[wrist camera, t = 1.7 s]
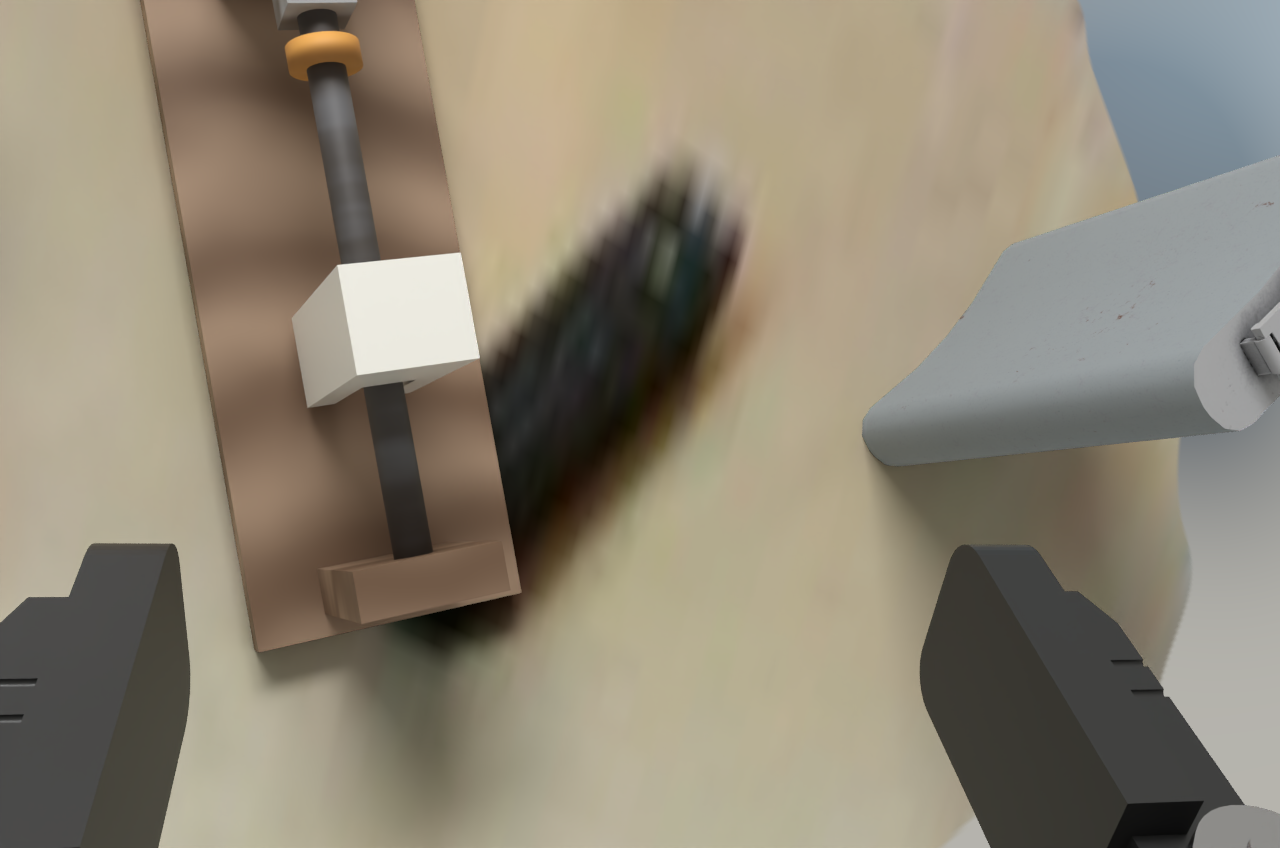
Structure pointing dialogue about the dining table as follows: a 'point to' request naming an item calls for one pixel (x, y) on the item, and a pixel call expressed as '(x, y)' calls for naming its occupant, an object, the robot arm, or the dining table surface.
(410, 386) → the white slider block
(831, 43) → the dining table surface
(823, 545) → the dining table surface
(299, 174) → the cord stand
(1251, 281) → the flask
